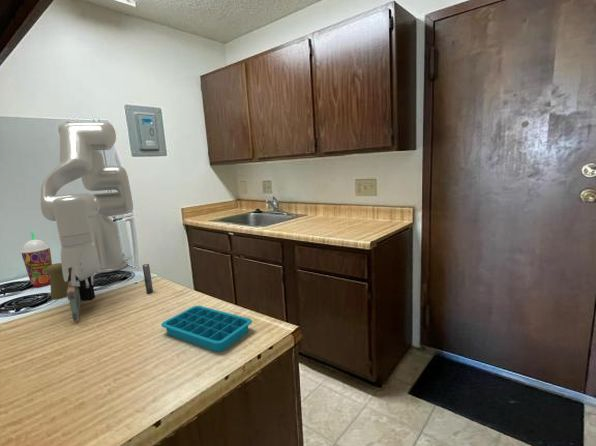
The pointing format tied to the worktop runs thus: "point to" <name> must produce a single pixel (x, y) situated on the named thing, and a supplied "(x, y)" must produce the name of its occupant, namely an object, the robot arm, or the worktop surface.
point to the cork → (57, 281)
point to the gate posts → (146, 279)
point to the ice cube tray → (207, 327)
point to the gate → (74, 300)
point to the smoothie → (37, 261)
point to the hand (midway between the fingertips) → (88, 299)
